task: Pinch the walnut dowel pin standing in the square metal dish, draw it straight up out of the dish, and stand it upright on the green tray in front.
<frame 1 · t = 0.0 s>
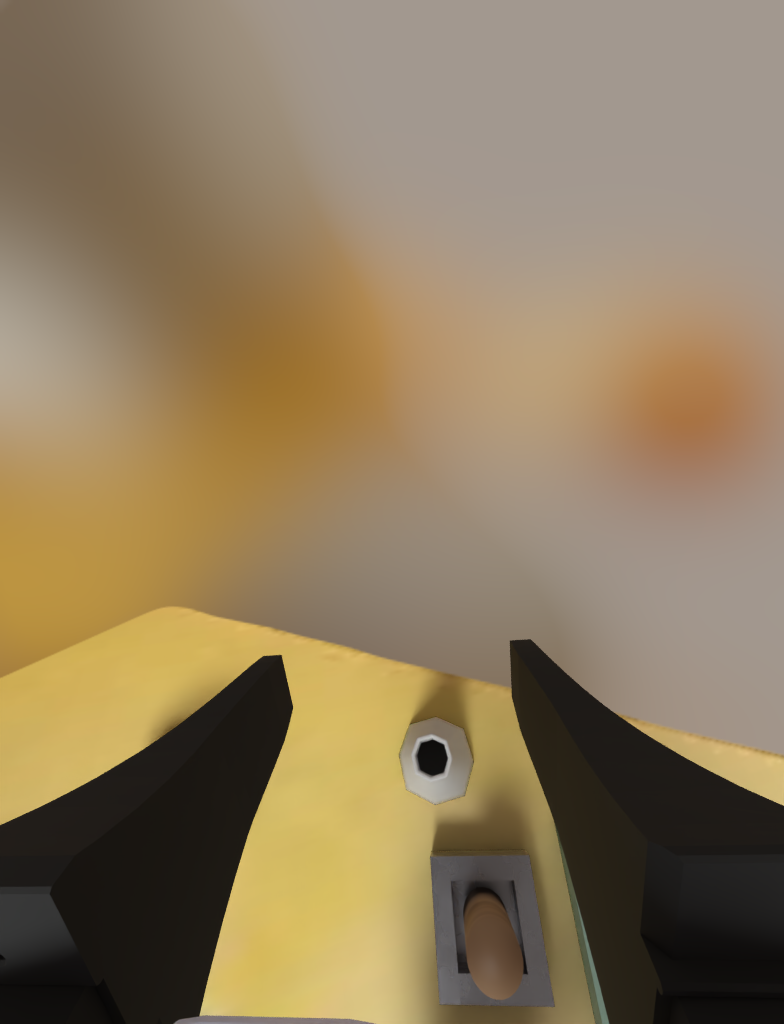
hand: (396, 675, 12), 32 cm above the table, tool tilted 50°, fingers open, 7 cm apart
flask: (435, 758, 38), on the table
square metal dish: (484, 914, 32), on the table
tray: (652, 914, 31), on the table
pin: (485, 916, 31), resting on square metal dish
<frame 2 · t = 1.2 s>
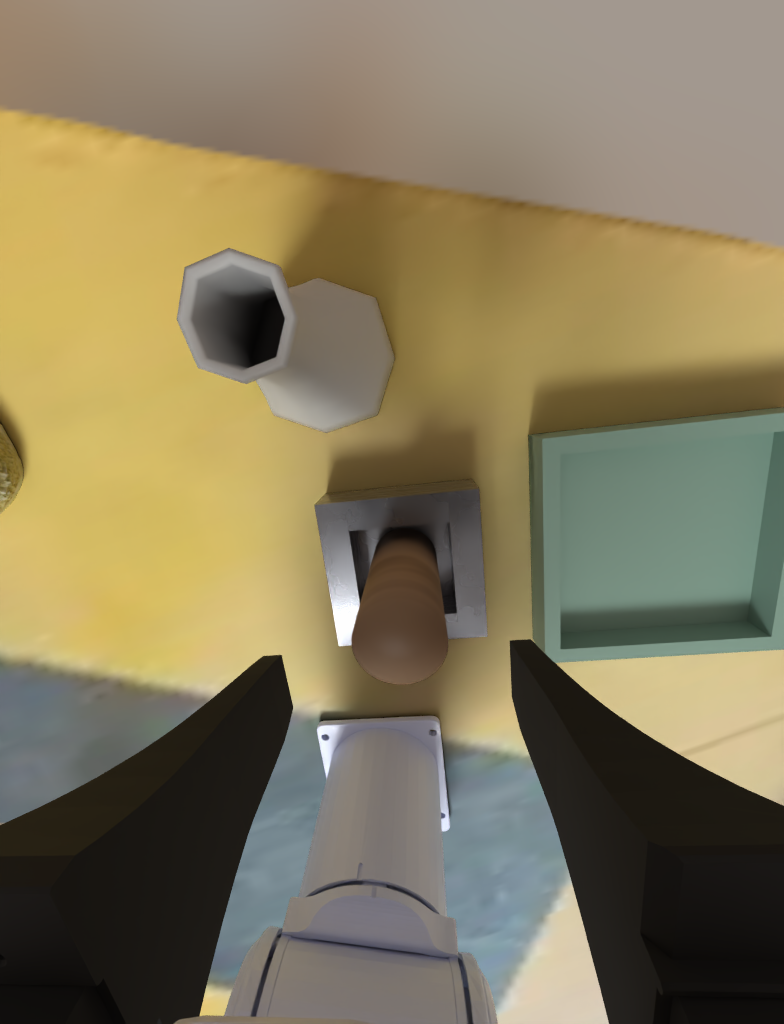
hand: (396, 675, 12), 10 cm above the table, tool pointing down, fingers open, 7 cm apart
flask: (324, 360, 20), on the table
square metal dish: (405, 554, 22), on the table
tray: (644, 534, 21), on the table
pin: (405, 558, 22), point 1 cm above the table, touching square metal dish
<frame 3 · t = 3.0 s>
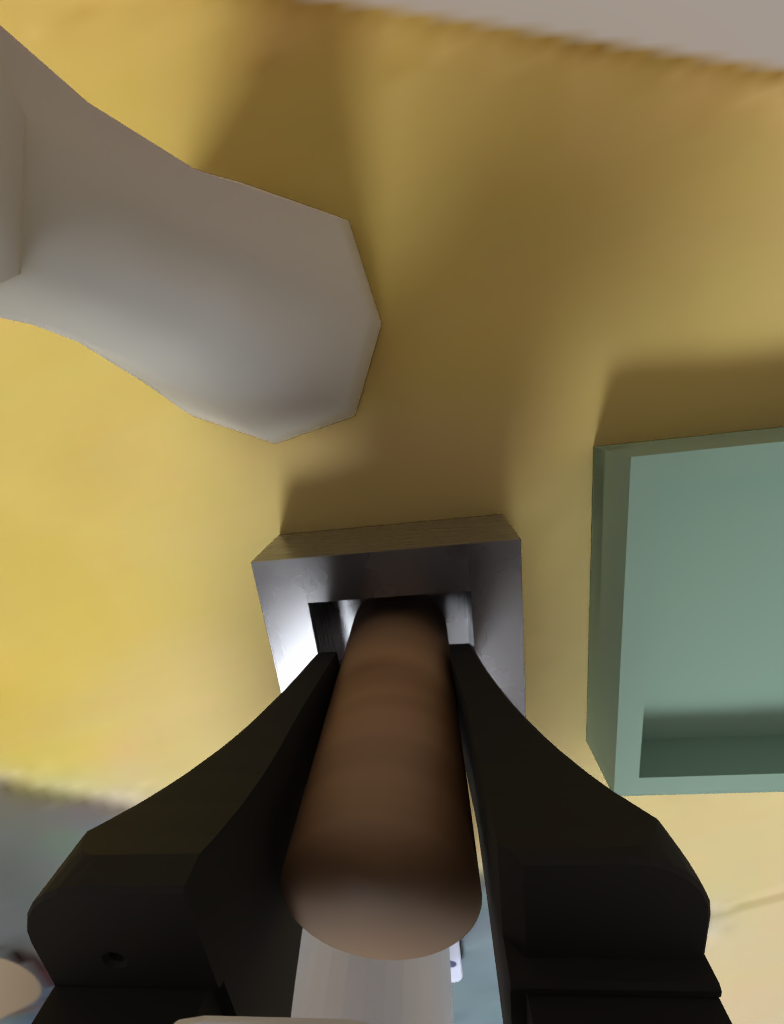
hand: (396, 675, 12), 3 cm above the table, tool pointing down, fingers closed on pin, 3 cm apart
flask: (270, 328, 12), on the table
square metal dish: (400, 623, 15), on the table
tray: (765, 598, 14), on the table
pin: (399, 631, 14), point 1 cm above the table, touching square metal dish, gripper
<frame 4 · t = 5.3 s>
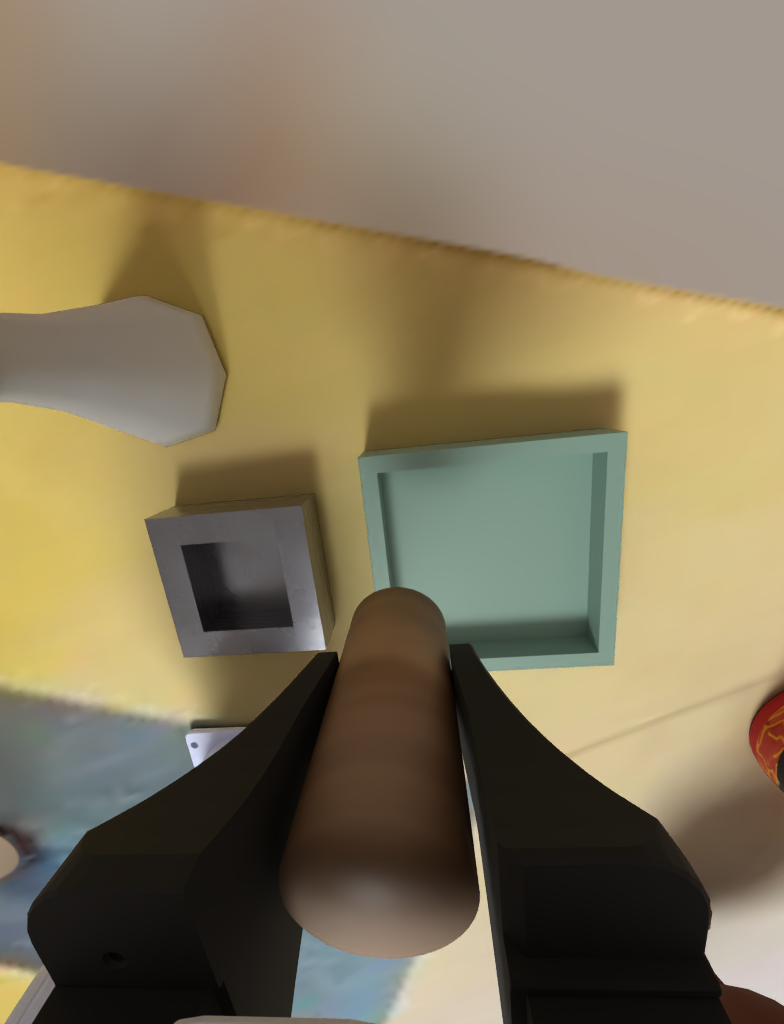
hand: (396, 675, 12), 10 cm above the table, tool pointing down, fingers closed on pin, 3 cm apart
ice cream bowl: (667, 907, 28), on the table
flask: (162, 375, 20), on the table
square metal dish: (257, 567, 22), on the table
tray: (485, 550, 21), on the table
pin: (398, 629, 14), point 8 cm above the table, touching gripper
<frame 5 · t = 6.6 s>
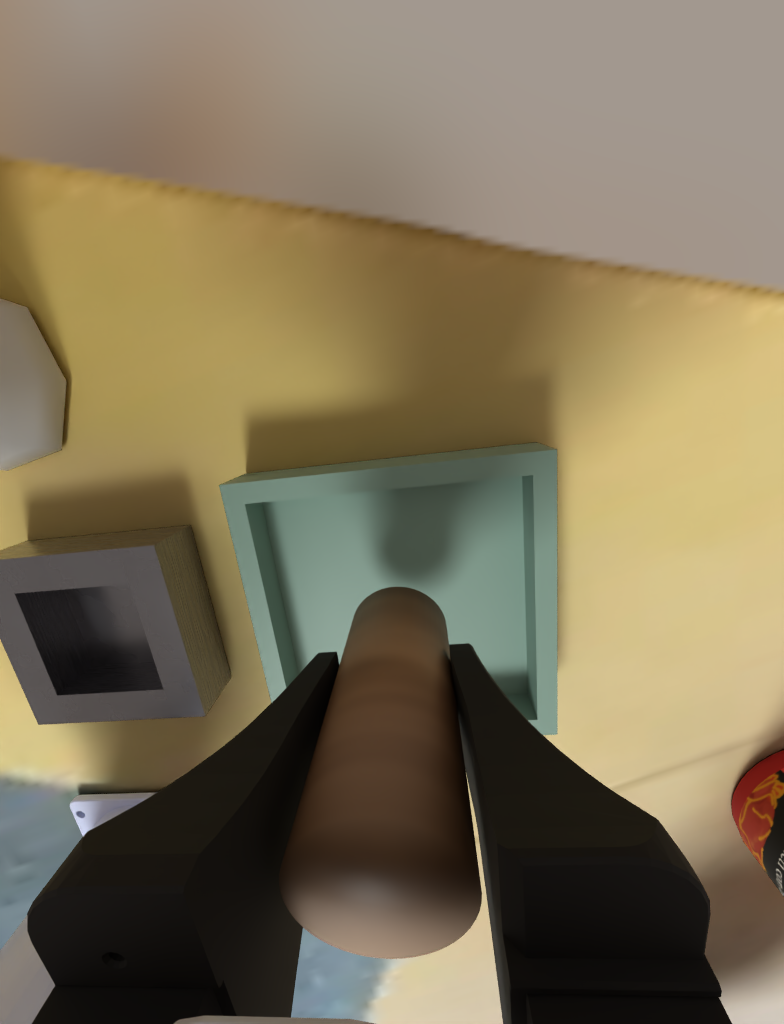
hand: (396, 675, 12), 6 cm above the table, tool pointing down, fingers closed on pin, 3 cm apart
square metal dish: (132, 611, 19), on the table
tray: (402, 590, 17), on the table
pin: (399, 629, 14), point 3 cm above the table, touching gripper
when the fingers open (4 cm above the table, at t = 7.7 s): pin drops 1 cm, resting on tray.
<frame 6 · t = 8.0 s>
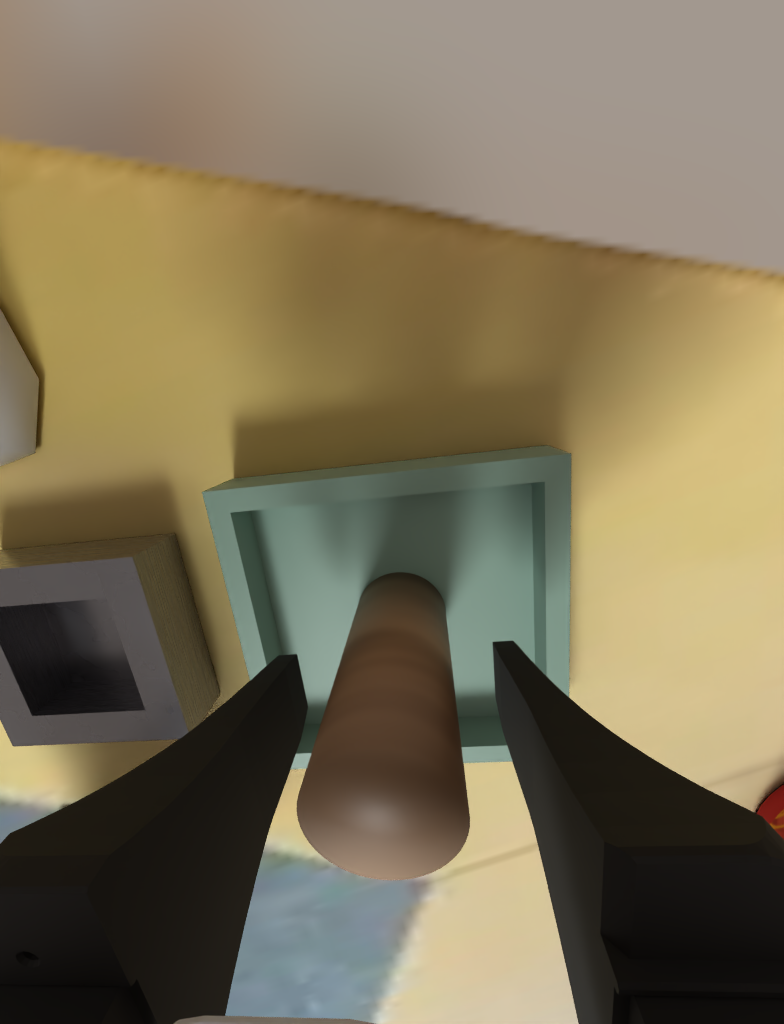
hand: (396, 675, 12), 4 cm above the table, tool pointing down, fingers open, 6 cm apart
square metal dish: (114, 624, 17), on the table
tray: (401, 603, 16), on the table
pin: (401, 612, 16), point 1 cm above the table, touching tray
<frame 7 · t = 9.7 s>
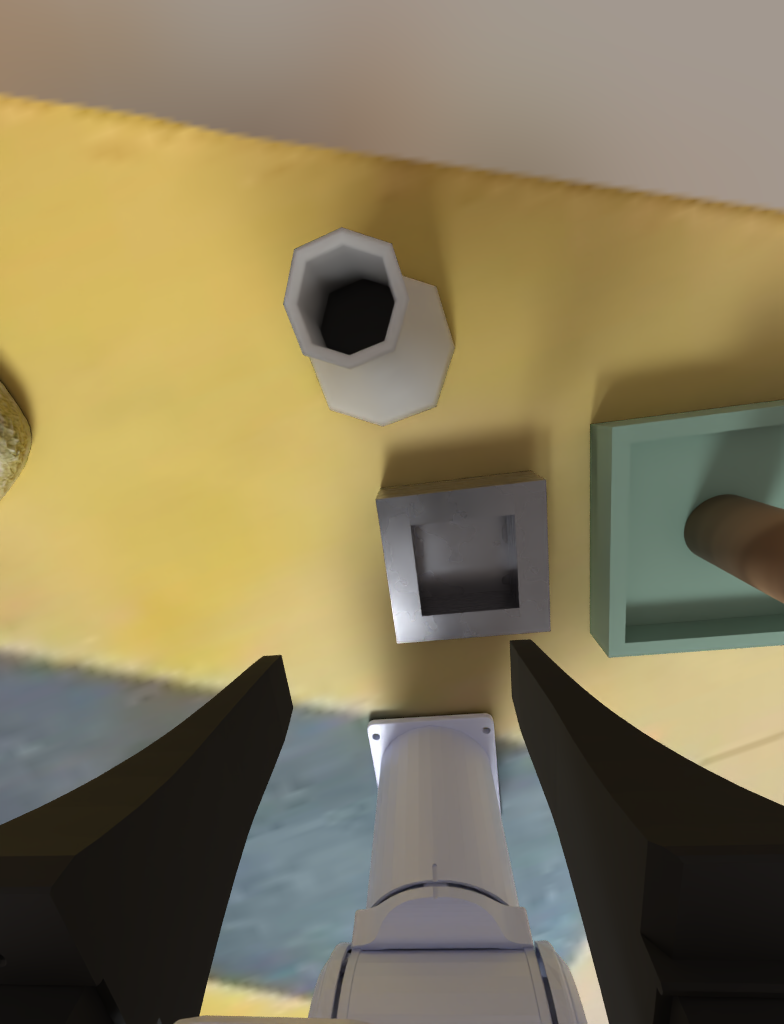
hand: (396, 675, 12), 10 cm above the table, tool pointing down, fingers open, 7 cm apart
flask: (381, 352, 19), on the table
square metal dish: (460, 549, 22), on the table
tray: (707, 524, 21), on the table
pin: (720, 527, 20), point 1 cm above the table, touching tray
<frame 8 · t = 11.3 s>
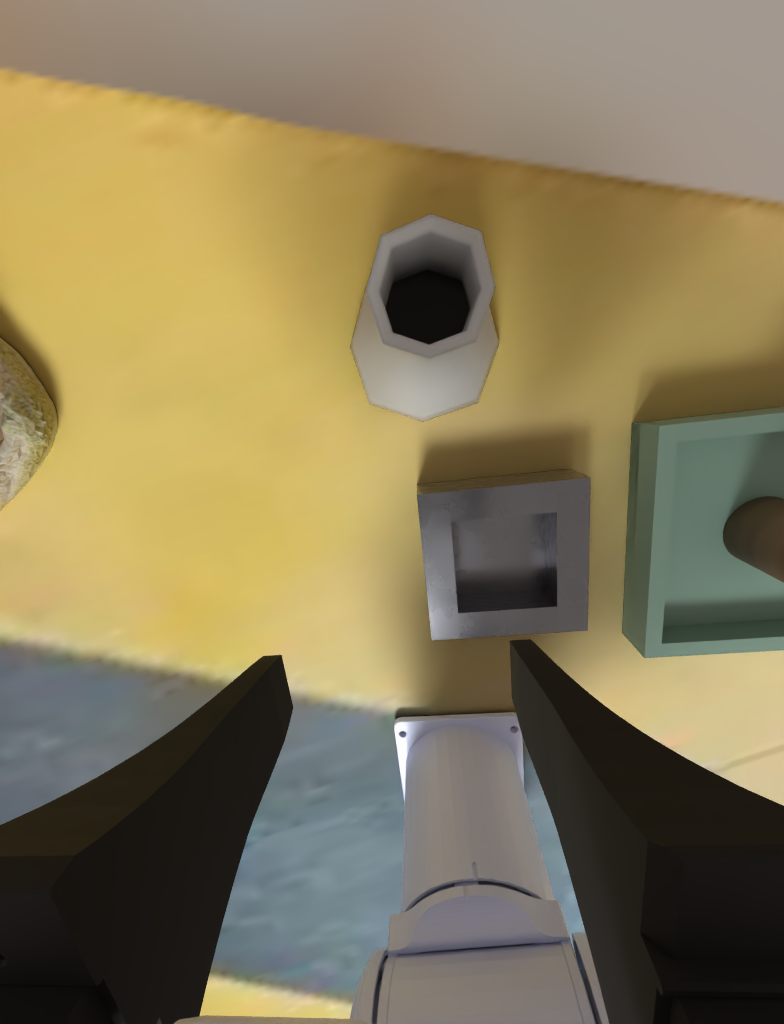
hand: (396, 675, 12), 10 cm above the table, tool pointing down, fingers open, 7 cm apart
flask: (423, 346, 19), on the table
square metal dish: (495, 547, 22), on the table
tray: (745, 525, 20), on the table
pin: (760, 529, 20), point 1 cm above the table, touching tray
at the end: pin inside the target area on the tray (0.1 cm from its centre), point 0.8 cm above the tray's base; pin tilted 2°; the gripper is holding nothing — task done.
